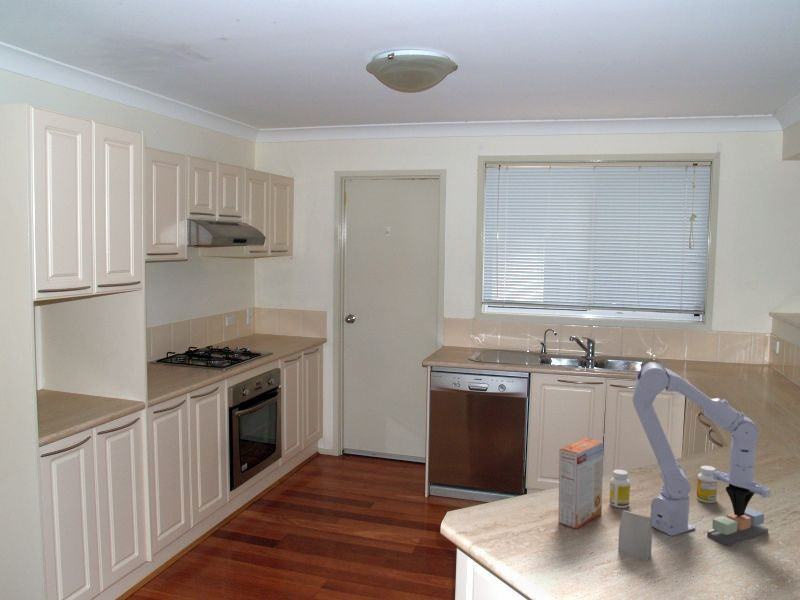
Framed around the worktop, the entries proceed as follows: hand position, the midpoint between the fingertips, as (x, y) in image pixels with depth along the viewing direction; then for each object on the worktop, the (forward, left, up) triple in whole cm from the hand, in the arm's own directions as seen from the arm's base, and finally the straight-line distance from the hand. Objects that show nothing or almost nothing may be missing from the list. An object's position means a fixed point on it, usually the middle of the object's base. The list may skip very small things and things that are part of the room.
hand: (739, 514), depth 167 cm
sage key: (-6, 0, -3) cm, 6 cm away
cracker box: (-30, +26, -6) cm, 40 cm away
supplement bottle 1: (-13, +28, -6) cm, 31 cm away
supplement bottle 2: (+13, +19, -6) cm, 24 cm away
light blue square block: (+5, 0, -3) cm, 6 cm away
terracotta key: (0, 0, -3) cm, 3 cm away
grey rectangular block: (-32, +5, -6) cm, 33 cm away
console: (0, 0, -5) cm, 5 cm away
